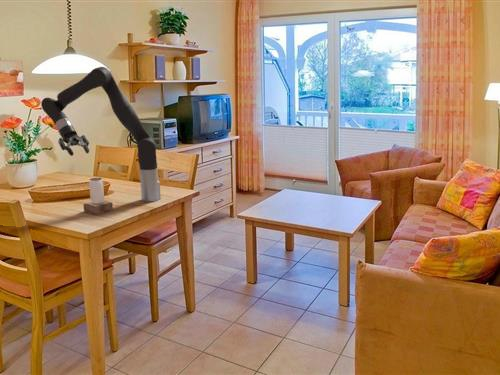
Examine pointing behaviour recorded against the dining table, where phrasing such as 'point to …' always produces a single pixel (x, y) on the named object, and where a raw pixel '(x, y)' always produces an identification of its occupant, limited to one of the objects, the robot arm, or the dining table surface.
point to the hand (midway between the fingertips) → (80, 153)
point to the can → (96, 191)
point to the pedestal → (98, 208)
